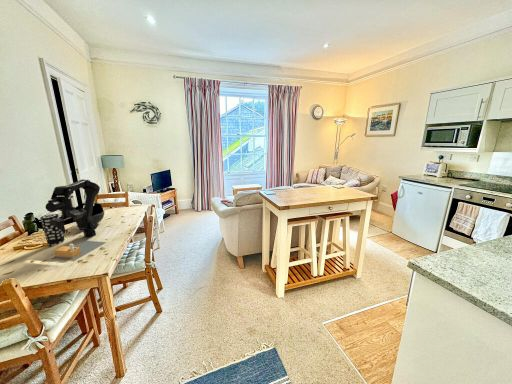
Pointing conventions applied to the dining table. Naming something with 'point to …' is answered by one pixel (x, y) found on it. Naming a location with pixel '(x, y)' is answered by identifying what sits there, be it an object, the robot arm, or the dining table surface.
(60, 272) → the dining table surface
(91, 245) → the keeper board
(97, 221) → the coal bowl
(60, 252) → the orange rectangular block
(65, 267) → the dining table surface
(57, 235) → the spotted tube
